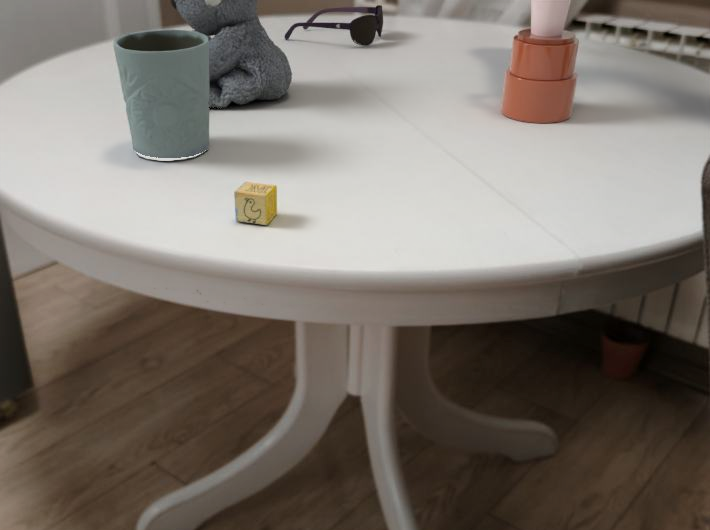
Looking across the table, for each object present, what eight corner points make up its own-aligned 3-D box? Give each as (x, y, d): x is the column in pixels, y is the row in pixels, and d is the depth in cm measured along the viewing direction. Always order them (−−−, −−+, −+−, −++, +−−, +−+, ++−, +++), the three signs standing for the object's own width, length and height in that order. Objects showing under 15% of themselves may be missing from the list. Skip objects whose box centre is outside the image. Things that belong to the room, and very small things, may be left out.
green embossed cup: (172, 129, 97) (161, 25, 91) (236, 145, 92) (229, 36, 86) (108, 153, 90) (91, 41, 84) (174, 171, 86) (161, 54, 79)
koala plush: (187, 75, 119) (174, -74, 108) (306, 81, 116) (304, -71, 105) (142, 109, 105) (121, -58, 94) (276, 117, 101) (270, -55, 91)
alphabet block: (247, 210, 77) (245, 179, 75) (278, 213, 76) (277, 183, 74) (235, 222, 74) (233, 191, 73) (267, 226, 74) (265, 195, 72)
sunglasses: (365, 50, 132) (366, 18, 129) (277, 43, 136) (276, 11, 134) (390, 33, 142) (391, 3, 140) (307, 27, 147) (306, -3, 144)
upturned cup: (533, 99, 108) (544, 23, 103) (586, 115, 102) (599, 35, 97) (486, 110, 104) (494, 31, 98) (537, 127, 98) (549, 45, 92)
